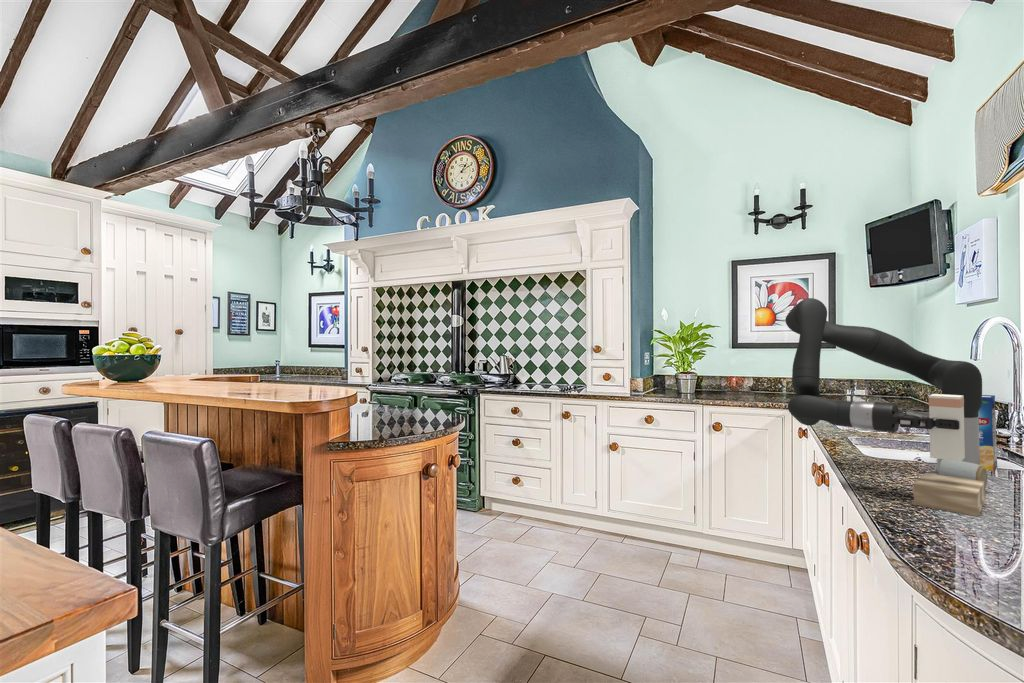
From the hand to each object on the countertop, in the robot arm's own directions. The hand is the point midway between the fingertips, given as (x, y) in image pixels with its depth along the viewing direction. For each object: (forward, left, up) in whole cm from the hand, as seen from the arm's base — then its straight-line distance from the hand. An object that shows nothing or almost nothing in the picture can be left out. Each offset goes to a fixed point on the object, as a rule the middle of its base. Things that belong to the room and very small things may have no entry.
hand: (960, 423), depth 113 cm
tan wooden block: (0, -2, -19) cm, 20 cm away
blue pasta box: (-50, -4, -20) cm, 54 cm away
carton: (0, -3, -8) cm, 9 cm away
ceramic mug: (-18, -2, -20) cm, 27 cm away
